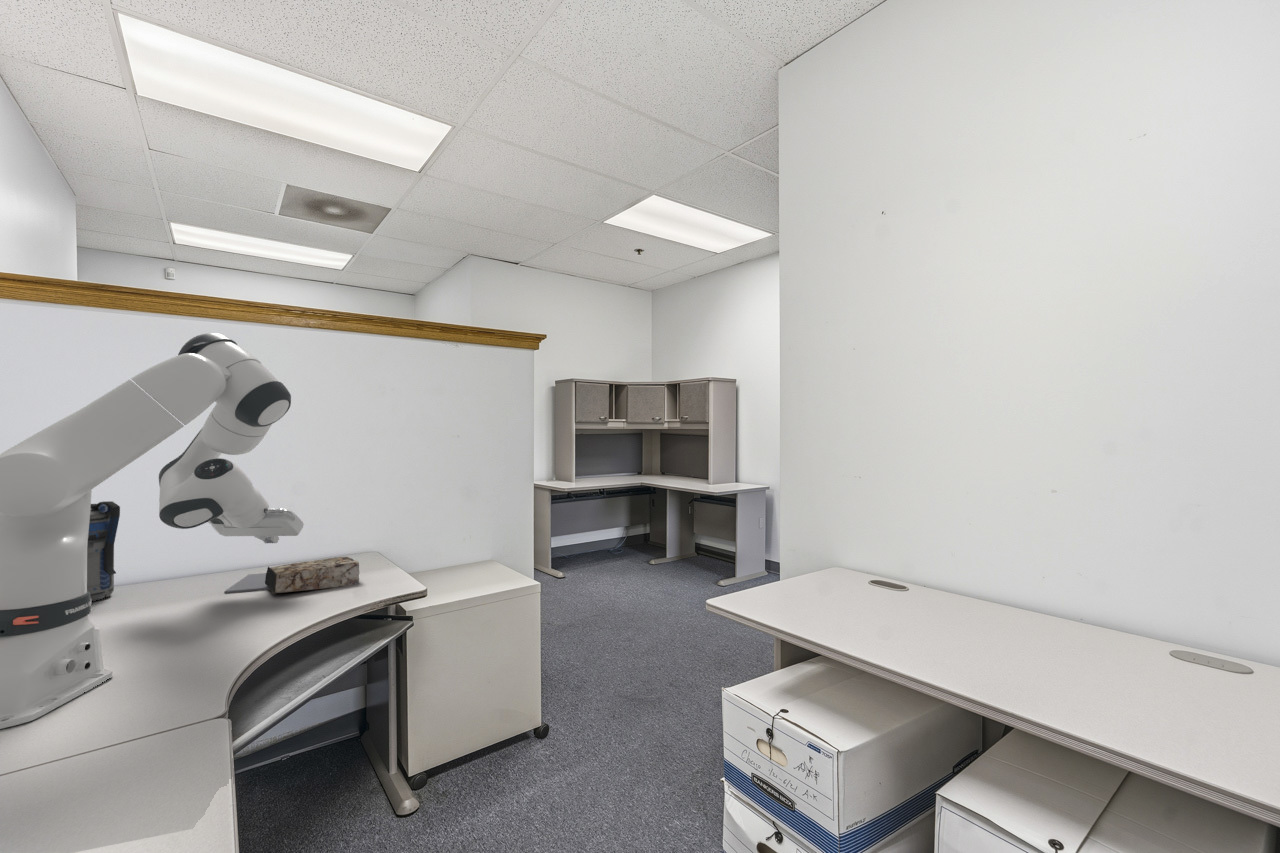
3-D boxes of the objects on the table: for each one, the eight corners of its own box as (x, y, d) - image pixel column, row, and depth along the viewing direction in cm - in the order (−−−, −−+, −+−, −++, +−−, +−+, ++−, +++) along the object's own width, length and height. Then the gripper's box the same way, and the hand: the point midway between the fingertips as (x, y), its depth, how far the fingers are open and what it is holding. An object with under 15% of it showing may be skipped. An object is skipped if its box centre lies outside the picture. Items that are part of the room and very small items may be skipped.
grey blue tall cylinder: (97, 605, 131) (98, 501, 131) (39, 606, 130) (40, 502, 131) (134, 593, 141) (135, 496, 142) (80, 594, 141) (81, 497, 141)
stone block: (274, 601, 136) (360, 587, 150) (275, 573, 136) (362, 562, 150) (264, 585, 146) (346, 573, 160) (265, 559, 145) (347, 550, 159)
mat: (304, 586, 146) (304, 584, 146) (224, 593, 140) (224, 591, 140) (319, 570, 163) (319, 568, 163) (248, 576, 157) (248, 574, 157)
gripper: (294, 499, 138) (316, 531, 148) (212, 499, 138) (240, 531, 148) (282, 519, 134) (306, 551, 143) (198, 520, 134) (228, 551, 143)
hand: (272, 541), depth 146 cm, fingers closed
